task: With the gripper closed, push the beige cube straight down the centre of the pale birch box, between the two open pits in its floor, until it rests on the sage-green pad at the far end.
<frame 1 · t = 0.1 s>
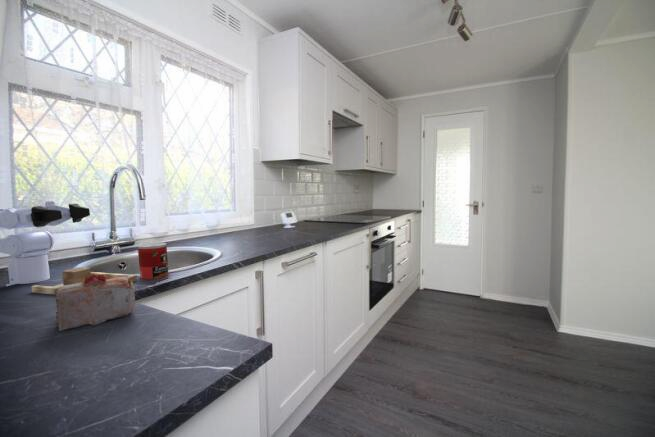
hand: (74, 213, 89), 22 cm above the counter, tool horizontal, fingers open, 7 cm apart
food item: (98, 320, 69), on the counter
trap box: (86, 290, 89), on the counter
canned food: (154, 280, 99), on the counter
beige cube: (77, 285, 90), point 1 cm above the counter, touching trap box
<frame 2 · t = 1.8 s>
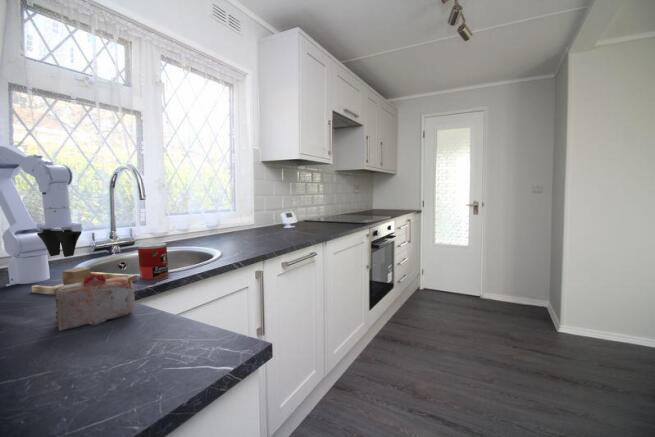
hand: (62, 255, 91), 9 cm above the counter, tool pointing down, fingers open, 5 cm apart
nothing on the counter moved.
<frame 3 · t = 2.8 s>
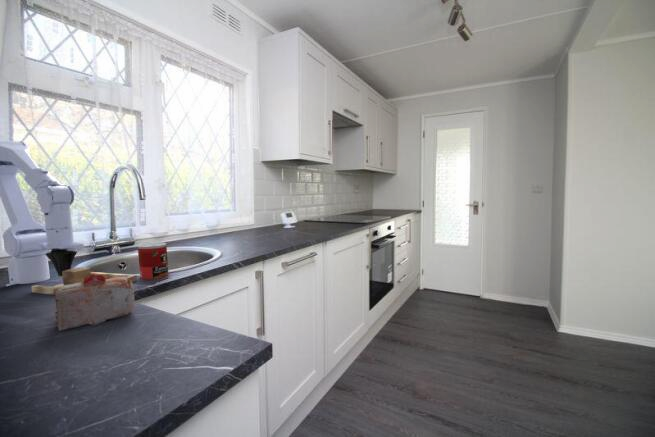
hand: (64, 275, 91), 4 cm above the counter, tool pointing down, fingers closed
nothing on the counter moved.
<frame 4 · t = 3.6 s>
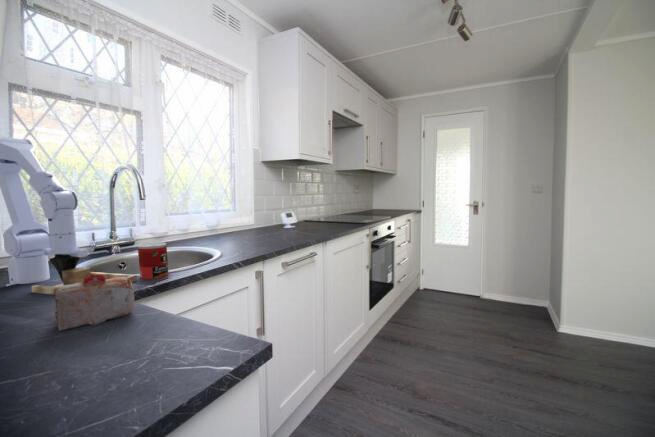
hand: (67, 280, 91), 2 cm above the counter, tool pointing down, fingers closed
beige cube: (77, 285, 90), point 1 cm above the counter, touching gripper, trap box
everything else where it was.
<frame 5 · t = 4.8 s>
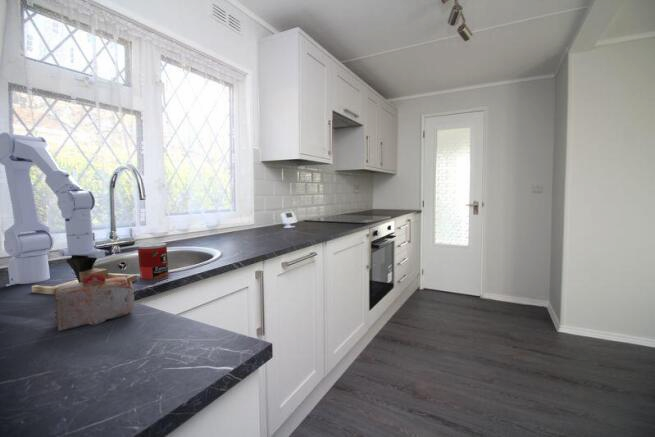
hand: (84, 282, 89), 2 cm above the counter, tool pointing down, fingers closed
beige cube: (94, 286, 88), point 1 cm above the counter, touching gripper
everything else where it was.
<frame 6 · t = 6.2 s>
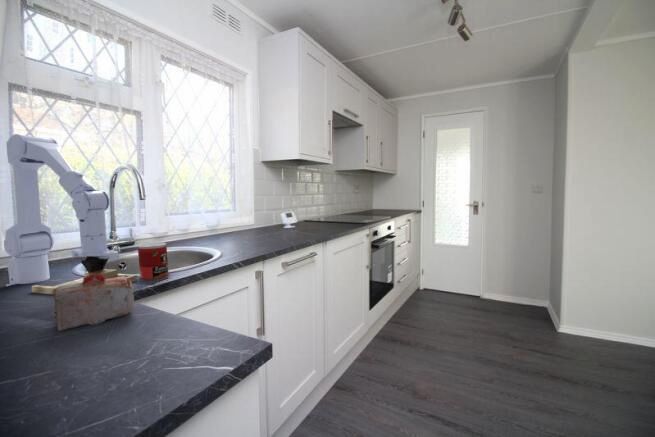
hand: (97, 283, 88), 2 cm above the counter, tool pointing down, fingers closed, pressing on beige cube
beige cube: (104, 287, 87), point 1 cm above the counter, touching gripper, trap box
everything else where it was.
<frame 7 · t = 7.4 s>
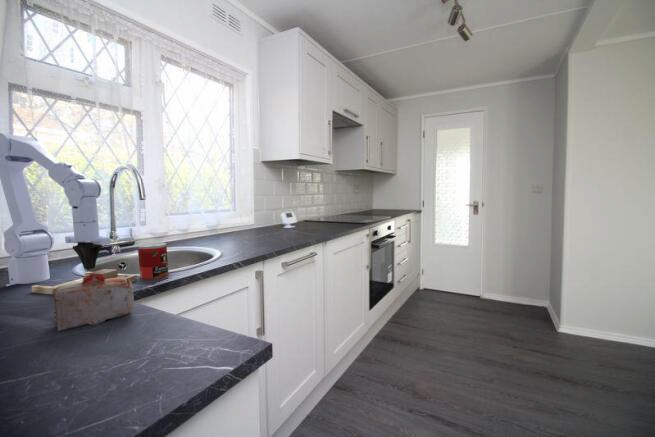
hand: (89, 268, 92), 5 cm above the counter, tool pointing down, fingers closed
beige cube: (104, 287, 87), point 1 cm above the counter, touching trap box
everything else where it was.
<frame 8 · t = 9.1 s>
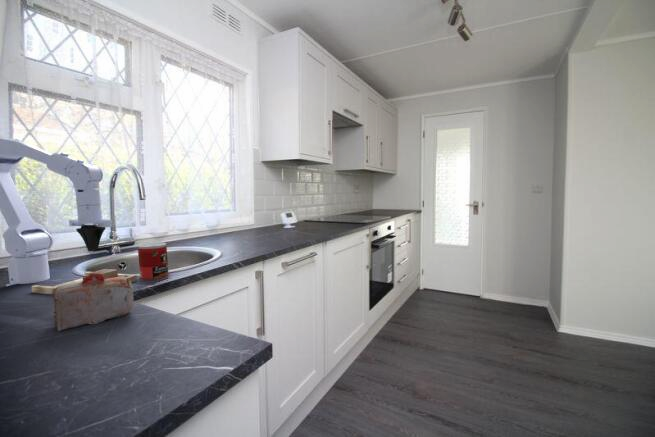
hand: (93, 250, 95), 10 cm above the counter, tool pointing down, fingers closed
nothing on the counter moved.
at the end: beige cube 0.1 cm from the target spot, point 1.2 cm above the counter; beige cube tilted 0° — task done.
